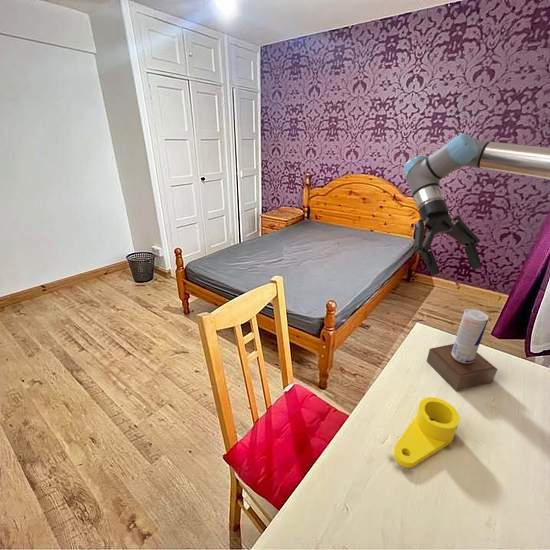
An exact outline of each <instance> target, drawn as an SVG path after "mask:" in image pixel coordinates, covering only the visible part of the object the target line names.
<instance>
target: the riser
mask: <svg viewBox="0 0 550 550" xmlns="http://www.w3.org/2000/svg"><path fill="white" fill-rule="evenodd" d="M453 346H454V343H450V344H446V345H441V346H436V347H431V348H429V350H428V354H427V358H426V363H428V365H430V367H431V368H432V369H433V370H434V371H435V372H436V373H437V374H438V375H439V376H440V377H441V378H442V379H443V380H444V381H445V382H446V383H447V384H448V385H449V386H450V387H451V388H452V390H454V391H455V392H459V391H463V390H466V389H471V388H475V387H479V386H483V385H488V384H491V383H492V384H493V382H494V380H495V377H496V374H497V372H498V368H497V367H496V366H494V365H493V364H492V363H491V362H490V361H488V360H487V359H486V358H485V357H483V355H481V354H480V353H478V352H477V353H476V356H475V358H474V361H473V362H472V363H468V364H466V363H461V362H459V361H457V360H456V359H454V358H453V356H452V354H451V353H452V349H453Z"/></svg>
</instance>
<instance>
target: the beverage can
mask: <svg viewBox="0 0 550 550" xmlns="http://www.w3.org/2000/svg"><path fill="white" fill-rule="evenodd" d="M488 322H489V315H488V314H486V313H485V312H483V311H482V310H479V309H474V308H466V309H465V310H464V311H463V314H462V317H461V321H460V324H459V327H458V330H457V333H456V337H455V340H454V343H453V344H454V346H453V349H452V353H451V354H452V356H453V358H454V359H456V360H457V361H459V362H461V363H466V364H468V363H472V362H473V361H474V358H475V356H476V353H478V350H479V347H480V344H481V341H482V338H483V336H484V333H485V330H486V328H487V325H488Z"/></svg>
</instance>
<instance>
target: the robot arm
mask: <svg viewBox="0 0 550 550" xmlns="http://www.w3.org/2000/svg"><path fill="white" fill-rule="evenodd" d="M464 167H470V168H476V169H483V170H490V171H496V172H502V173H507V174H513V175H514V174H515V175H519V176H525V177H532V178H536V179H537V178H538V179H543V180H545V179H546V180H550V147H543V146H536V145H525V144H516V143H508V142H498V141H489V140H488V141H487V140H481V139H479V138H474V137H472V136H471V135H470V134H468V133H466V132H463V133H460V134H459V135H457V136H456V137H454V138H452V139H450V140H449V141H448V142H447V143H446V144H444V145H443V146H442V147H440V148H439V149H438V150H436V151H435V152H434V153H432V154H431V155H430V156H426V155H416V156H415V157H414V158H411V159H409V160H408V161H406V163H405V165H404V166H403V172H404V175H405V181H406V183H407V184H408V187H409V189H410V192H411V194H412V198H413V201H414V204H415V205H416V208H417V209H418V214H419V217H420V219H418V220H417V221H416V222H415V223H414V228H415V233H414V234H415V235H414V243H413V253H414V254H417V255H418V256H421V257H422V259H423V263H424V264H425V265H427V267H428V271H429V273H430V276H431V277H435V276H436V275H438V274H441V270H440V267H439V266H438V263H437V260H436V257H435V255H434V252H433V250H430V248H431V246H432V243H433V241H434V238H435V236H438V235H444V234H445V235H447V236H450V237H452V239H454V240H456V241H457V242H458V243H459V244H461V245H462V246H464V247H465V248H464V251H465V254H466V257H467V259H468V262H469V264H470V267H471V269H472V271H475V270H477V269H480V268H482V267H483V264H482V262H481V260H480V257H479V256H480V254H479V251H478V249H477V246H476V245H478V244H479V243H480V242H481V239H480V238H479V237H478V236H477V235H476V234H475V233H474V232H473V231H472V230H471V229H470V228H469V227H468V226H467V225H466V224H465V222H464V221H463V220H462V218H461V216H460V215H459V214H457V215H455V216H454V217H451V216H450V214H449V213H450V209H449V206H448V205H447V201H446V200H445V197H444V194H443V192H442V189H441V186H440V185H439V182H438V181H441V180H442V179H443V178H445V177H447V176H448V175H450V174H451V173H453V172H454V171H456V170H458V169H460V168H464ZM425 229H427V231H426V234H425ZM424 237H425V238H424Z"/></svg>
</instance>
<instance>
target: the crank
mask: <svg viewBox="0 0 550 550" xmlns="http://www.w3.org/2000/svg"><path fill="white" fill-rule="evenodd" d="M459 423H460V415H459V412H458V410H456V408H455V407H454V406H453V405H451V403H449V402H447V401H446V400H444V399H442V398H438V397H431V396H430V397H424V398H423V399H422V400H420V402H419V404H418V408H417V411H416V414H415V417H414V418H413V419H412V421H411V422H410V423H409V424H408V426H407V428H406V429H405V430H404V432H403V434H401V437H400V438H399V440H397V442H396V444H395V445H394V447H393V452H392V454H393V458H394V461H395V462H396V463H397V464H398V465H400V467H403V468H406V469H412V468H414V467H415V466H417V465H419V464H421V463H422V462H423V461H425V460H426V459H428V458H429V457H431V456H433V455H434V454H436V453H438V452H439V451H440V450H442V449H444V448H445V447H447V446H449V445H450V444H451V443H452V442H453V440H454V437H455V434H456V432H457V429H458V426H459Z"/></svg>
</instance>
